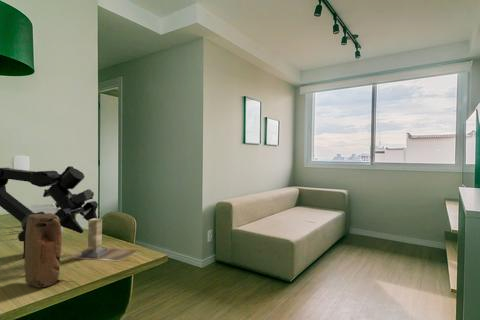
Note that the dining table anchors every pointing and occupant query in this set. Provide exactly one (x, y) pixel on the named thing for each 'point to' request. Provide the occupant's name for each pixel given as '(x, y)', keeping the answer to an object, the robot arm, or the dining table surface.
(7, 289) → the dining table surface
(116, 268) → the dining table surface
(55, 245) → the block
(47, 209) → the storage container
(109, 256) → the plank
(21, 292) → the dining table surface
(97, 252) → the wooden post with base
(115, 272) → the dining table surface
